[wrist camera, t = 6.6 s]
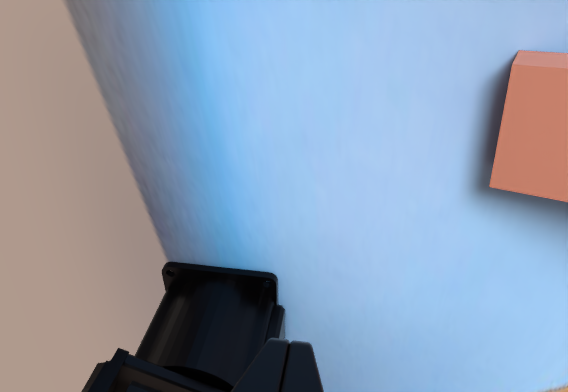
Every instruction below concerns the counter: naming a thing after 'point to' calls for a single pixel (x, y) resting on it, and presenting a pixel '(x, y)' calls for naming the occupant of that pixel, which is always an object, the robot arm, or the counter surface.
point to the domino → (534, 128)
